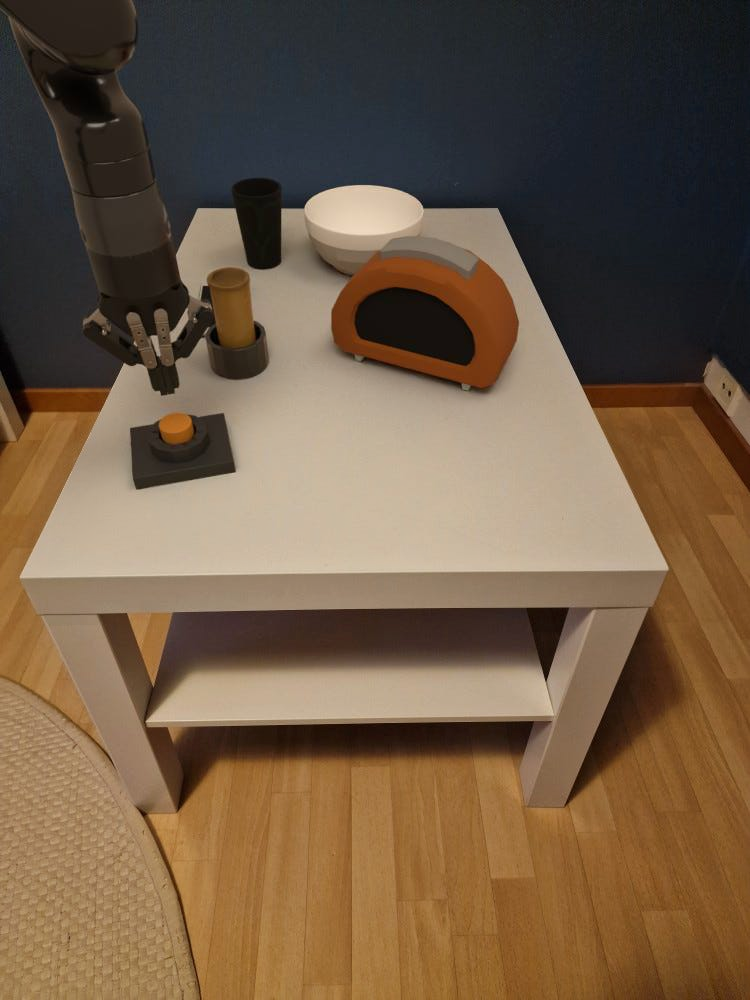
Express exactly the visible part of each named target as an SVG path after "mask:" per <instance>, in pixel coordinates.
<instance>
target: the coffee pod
mask: <svg viewBox="0 0 750 1000" xmlns="http://www.w3.org/2000/svg"><path fill="white" fill-rule="evenodd" d="M250 277H251V275H250V274H249V272H248V271H246V270H245V269H243V268H240V267H231V266H228V267H221V268H218V269H214V270H213V271H211V272H210V273H208V275H207V276H206V282H207V284H208V286H209V287H210V292H211V297H212V303H213V309H214V315H215V320H216V326H217V332H218V338H219V344H220V346H221V347H224V348H240V347H245V346H248V345H250V344H253V343H254V342H255V341H256V336H255V328H254V321H255V320H254V313H253V305H252V297H251V289H250V288H249V282H250V283H251V278H250Z"/></svg>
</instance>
